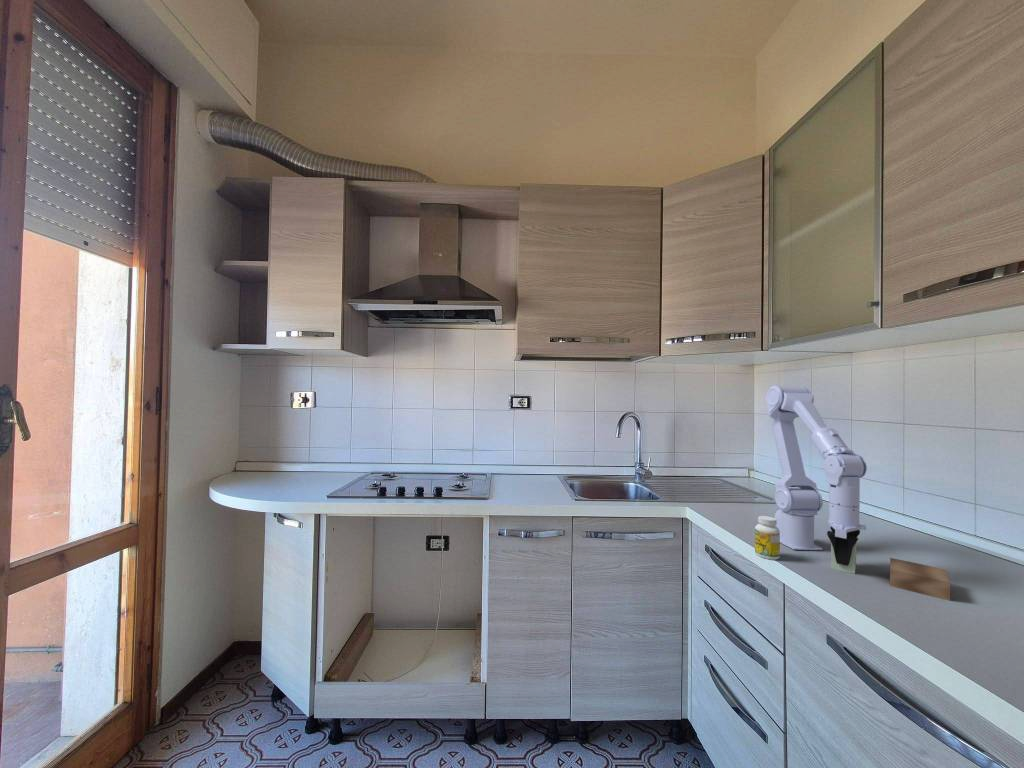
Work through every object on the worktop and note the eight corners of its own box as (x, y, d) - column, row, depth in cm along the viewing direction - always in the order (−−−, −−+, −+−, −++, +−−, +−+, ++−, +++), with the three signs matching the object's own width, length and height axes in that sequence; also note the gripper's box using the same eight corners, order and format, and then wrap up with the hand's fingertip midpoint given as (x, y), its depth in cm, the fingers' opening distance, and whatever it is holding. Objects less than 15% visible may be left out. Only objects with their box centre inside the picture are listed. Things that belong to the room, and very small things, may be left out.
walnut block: (889, 587, 90) (889, 568, 90) (890, 575, 96) (890, 557, 97) (950, 602, 84) (950, 582, 84) (946, 588, 90) (946, 569, 90)
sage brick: (830, 568, 99) (831, 542, 99) (832, 563, 102) (833, 538, 102) (854, 574, 96) (854, 547, 96) (856, 568, 99) (856, 543, 99)
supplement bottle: (784, 559, 103) (785, 520, 103) (766, 560, 102) (766, 521, 102) (767, 551, 108) (768, 514, 109) (749, 552, 107) (750, 515, 108)
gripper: (864, 513, 91) (863, 575, 91) (867, 502, 102) (867, 558, 101) (824, 506, 96) (823, 566, 96) (831, 496, 107) (831, 550, 106)
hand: (843, 561), depth 99 cm, fingers closed on sage brick, 4 cm apart
